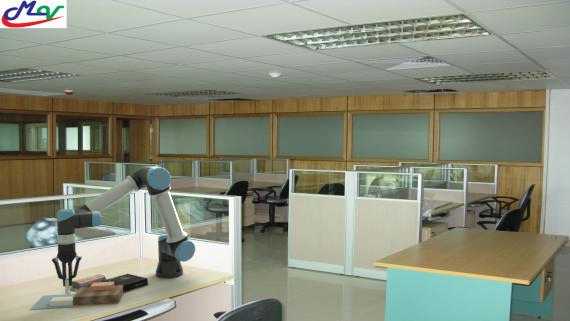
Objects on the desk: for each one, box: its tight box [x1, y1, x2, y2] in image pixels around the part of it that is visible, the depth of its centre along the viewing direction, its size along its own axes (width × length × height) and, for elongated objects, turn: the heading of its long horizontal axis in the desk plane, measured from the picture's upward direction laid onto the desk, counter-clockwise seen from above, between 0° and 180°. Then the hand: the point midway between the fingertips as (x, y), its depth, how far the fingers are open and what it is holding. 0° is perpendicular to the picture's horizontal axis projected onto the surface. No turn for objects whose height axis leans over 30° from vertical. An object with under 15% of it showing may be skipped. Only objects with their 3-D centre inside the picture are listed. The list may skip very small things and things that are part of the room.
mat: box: [29, 293, 76, 311], centre depth 232 cm, size 18×20×1 cm
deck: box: [73, 285, 124, 307], centre depth 235 cm, size 20×15×4 cm
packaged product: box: [70, 273, 107, 293], centre depth 256 cm, size 18×5×10 cm
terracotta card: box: [90, 282, 114, 291], centre depth 239 cm, size 10×6×2 cm, turn 100°
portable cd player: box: [101, 273, 149, 294], centre depth 256 cm, size 16×17×4 cm
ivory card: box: [50, 296, 74, 306], centre depth 228 cm, size 10×6×2 cm, turn 99°
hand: (67, 292), depth 228 cm, fingers closed
